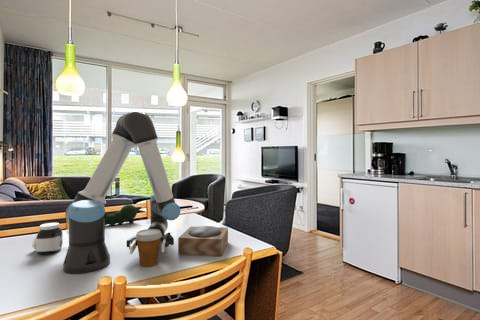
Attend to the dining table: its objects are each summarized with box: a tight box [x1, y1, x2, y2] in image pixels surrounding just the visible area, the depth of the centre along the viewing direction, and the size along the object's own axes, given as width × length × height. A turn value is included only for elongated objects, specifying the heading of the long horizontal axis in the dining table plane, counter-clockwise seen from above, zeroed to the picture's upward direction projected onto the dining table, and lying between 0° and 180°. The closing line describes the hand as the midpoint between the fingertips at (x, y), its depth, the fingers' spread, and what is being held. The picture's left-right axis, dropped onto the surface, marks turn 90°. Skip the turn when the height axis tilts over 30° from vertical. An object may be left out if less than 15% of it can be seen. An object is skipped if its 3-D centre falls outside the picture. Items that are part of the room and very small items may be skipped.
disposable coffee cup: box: [134, 228, 162, 268], centre depth 103 cm, size 10×10×12 cm
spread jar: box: [31, 222, 64, 256], centre depth 116 cm, size 12×11×12 cm
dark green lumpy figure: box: [105, 194, 143, 227], centre depth 162 cm, size 9×19×25 cm
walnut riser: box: [177, 225, 229, 257], centre depth 120 cm, size 18×18×8 cm
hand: (146, 249), depth 99 cm, fingers open, 10 cm apart
